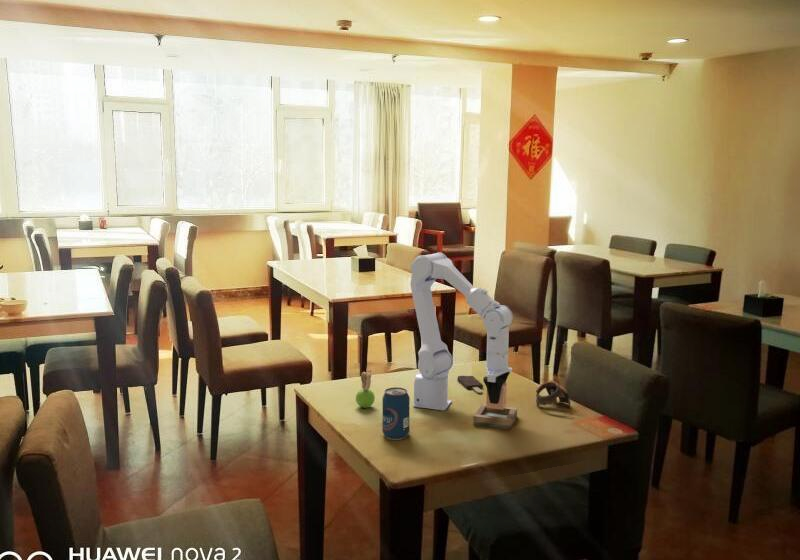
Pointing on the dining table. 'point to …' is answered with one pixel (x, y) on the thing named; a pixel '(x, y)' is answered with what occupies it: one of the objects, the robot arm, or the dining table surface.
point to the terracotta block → (502, 399)
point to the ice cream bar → (470, 383)
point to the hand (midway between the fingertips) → (496, 400)
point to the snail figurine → (365, 391)
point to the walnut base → (495, 417)
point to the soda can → (395, 413)
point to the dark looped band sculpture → (552, 394)
